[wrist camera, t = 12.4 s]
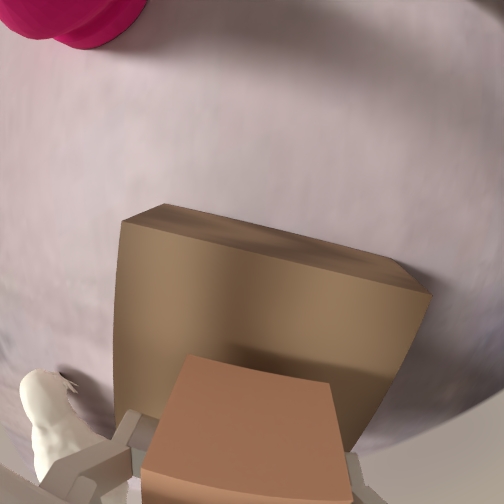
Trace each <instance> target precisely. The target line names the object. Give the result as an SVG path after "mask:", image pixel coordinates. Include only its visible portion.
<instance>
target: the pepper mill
mask: <svg viewBox="0 0 504 504" xmlns="http://www.w3.org/2000/svg"><path fill="white" fill-rule="evenodd" d="M146 1H147V0H0V20H1V21H2V22H3V23H4V24H5V25H6V26H7V27H8V28H9V29H10V30H12V31H14V32H16V33H18V34H20V35H22V36H24V37H26V38H30V39H35V40H40V39H49V38H53V39H55V40H57V41H59V42H61V43H63V44H66V45H68V46H70V47H72V48H76V49H89V48H93V47H97V46H100V45H102V44H104V43H106V42H108V41H110V40H112V39H114V38H115V37H116V36H118V35H119V34H121V33H122V32H123V31H125V30H126V29H127V28H128V27H129V26H130V25H131V24H132V23H133V22H134V21H135V19H136V18H137V17H138V15H139V14H140V12H141V11H142V9H143V7H144V6H145V3H146Z"/></svg>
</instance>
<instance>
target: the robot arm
mask: <svg viewBox="0 0 504 504" xmlns="http://www.w3.org/2000/svg"><path fill="white" fill-rule="evenodd" d="M159 421H160V419H157V418H154V417H151V416H148V415H145V414H142V413H139V412H136V411H134V410H131V409H129V410H128V411H127V412H126V413H125V415H124V417H123V419H122V421H121V423H120V424H119V426H118V428H117V430H116V432H115V434H114V436H113V437H112V439H111V440H109V439H106V440H103V441H101V442H99V443H97V444H94V445H92V446H90V447H88V448H85V449H83V450H80V451H78V452H76V453H73V454H71V455H68V456H66V457H64V458H61V459H58V460H56V461H54V463H53V464H52V466H51V467H50V469H49V471H48V472H47V474H46V475H45V477H44V478H43V480H42V482H41V483H40V485H39V486H37V485H35V484H33V483H32V482H30V481H28V480H26V479H25V478H23V477H22V476H20V475H18V474H17V473H15V472H14V471H12V470H11V469H9V468H8V467H6V466H5V465H3V464H2V463H0V504H102V501H101V498H100V497H101V496H103V495H105V494H106V493H108V492H110V491H111V490H113V489H114V488H116V487H117V486H119V485H121V484H122V483H124V482H125V481H127V480H128V479H130V478H131V477H132V476H135V477H138V478H141V465H142V463H143V460H144V458H145V456H146V453H147V451H148V448H149V446H150V443H151V441H152V438H153V436H154V433H155V431H156V428H157V426H158V424H159ZM344 454H345V459H346V464H347V469H348V474H349V480H350V485H351V490H352V496H353V502H352V503H351V504H387V503H386V502H385V501H384V500H383V499H382V498H381V497H380V496H379V495H378V494H377V493H376V492H375V491H373V490H372V489H371V488H370V487H369V486H365V484H364V479H363V476H362V471H361V467H360V463H359V459H358V455H357V454H356V453H352V452H344Z"/></svg>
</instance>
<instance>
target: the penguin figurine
mask: <svg viewBox="0 0 504 504" xmlns="http://www.w3.org/2000/svg"><path fill="white" fill-rule="evenodd" d="M70 383H71V384H74V385H76V386H78V385H77V384H75V383H73V382H71V381H69V380H67V379H64V378H63V377H62V376H61V375H60V373H59V372H49V371H46V370H44V369H35V370H33V371H31V372H30V373H28V374H27V375H26V376H25V377H24V378H23V380H22V381H21V384H20V397H21V400H22V404H23V407H24V410H25V412H26V414H27V416H28V418H29V419H30V420H31V422H32V424H33V428H32V448H33V450H34V453H35V458H34V466H35V471H36V473H37V477H38V480H39V482H40V483H41V482H42V480H43V478H44V477H45V475H46V474H47V472H48V471H49V469H50V467H51V466H52V464H53V463H54V461H56V460H58V459H61V458H64V457H66V456H68V455H71V454H73V453H76V452H78V451H80V450H83V449H85V448H88V447H90V446H92V445H94V444H97V443H99V442H101V441H103V440H106V439H107V438H105V437H103V436H101V435H99V434H96V433H94V432H93V431H92V429H91V428H90V426H89V425H88V424H87V423H86V422H85V421H83V420H82V419H80V418H79V417H78V416H77V414H76V412H75V410H74V409H73V408H72V406H71V404H70V402H69V400H68V397H67V394H68V393H66V392H67V388H68V387H69V388H70V389H71V390H72V391H73V392H77V391H76V390H75V389H74V388H73V387H72V385H71V384H70ZM67 386H68V387H67ZM69 388H68V389H69ZM69 391H70V390H69ZM70 392H71V391H70ZM71 393H72V392H71ZM77 393H78V392H77ZM128 488H129V485H128V482H127V481H125V482H124V483H122V484H121V485H119V486H117V487H116V488H114V489H113V490H111V491H110V492H108V493H106V494H105V495H103V496H101V497H100V498H101V501H102V504H126V499H127V493H128Z"/></svg>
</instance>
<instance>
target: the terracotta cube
mask: <svg viewBox="0 0 504 504" xmlns="http://www.w3.org/2000/svg"><path fill="white" fill-rule="evenodd" d="M141 493H142V504H351V503H352V502H353V496H352V490H351V485H350V480H349V474H348V469H347V464H346V459H345V454H344V449H343V444H342V439H341V435H340V430H339V425H338V421H337V416H336V411H335V407H334V402H333V398H332V393H331V389H330V385H329V383H324V382H318V381H311V380H305V379H300V378H294V377H288V376H283V375H278V374H272V373H267V372H262V371H258V370H253V369H248V368H244V367H239V366H235V365H230V364H226V363H222V362H218V361H214V360H210V359H206V358H202V357H198V356H194V355H190V354H187V357H186V359H185V361H184V364H183V366H182V368H181V371H180V373H179V375H178V378H177V380H176V383H175V385H174V387H173V390H172V392H171V395H170V397H169V399H168V402H167V404H166V407H165V409H164V411H163V414H162V416H161V419H160V421H159V424H158V426H157V428H156V431H155V433H154V436H153V438H152V441H151V443H150V446H149V448H148V451H147V453H146V456H145V458H144V460H143V463H142V465H141Z"/></svg>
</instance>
